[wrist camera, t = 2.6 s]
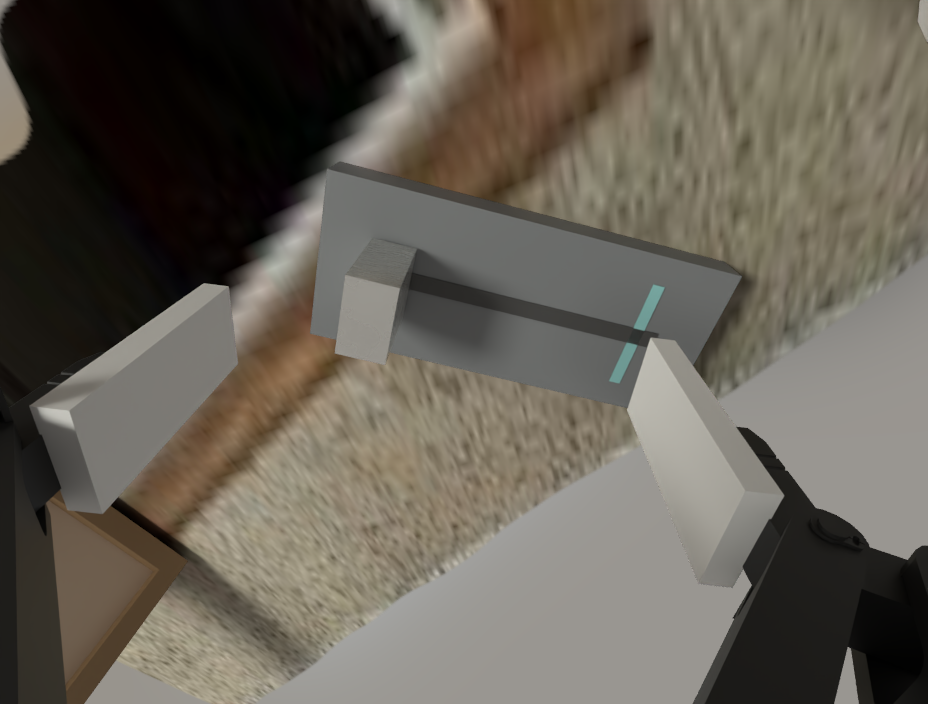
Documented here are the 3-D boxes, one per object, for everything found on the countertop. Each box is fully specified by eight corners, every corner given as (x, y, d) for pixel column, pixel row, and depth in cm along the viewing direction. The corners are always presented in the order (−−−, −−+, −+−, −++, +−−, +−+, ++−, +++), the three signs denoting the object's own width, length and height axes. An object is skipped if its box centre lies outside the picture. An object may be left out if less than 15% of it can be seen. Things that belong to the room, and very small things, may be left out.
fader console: (322, 316, 40) (309, 334, 37) (339, 161, 34) (326, 169, 32) (654, 395, 42) (665, 417, 39) (724, 261, 36) (742, 277, 34)
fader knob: (361, 305, 36) (334, 353, 29) (372, 237, 33) (345, 275, 27) (403, 315, 36) (385, 365, 30) (416, 248, 33) (399, 288, 27)
